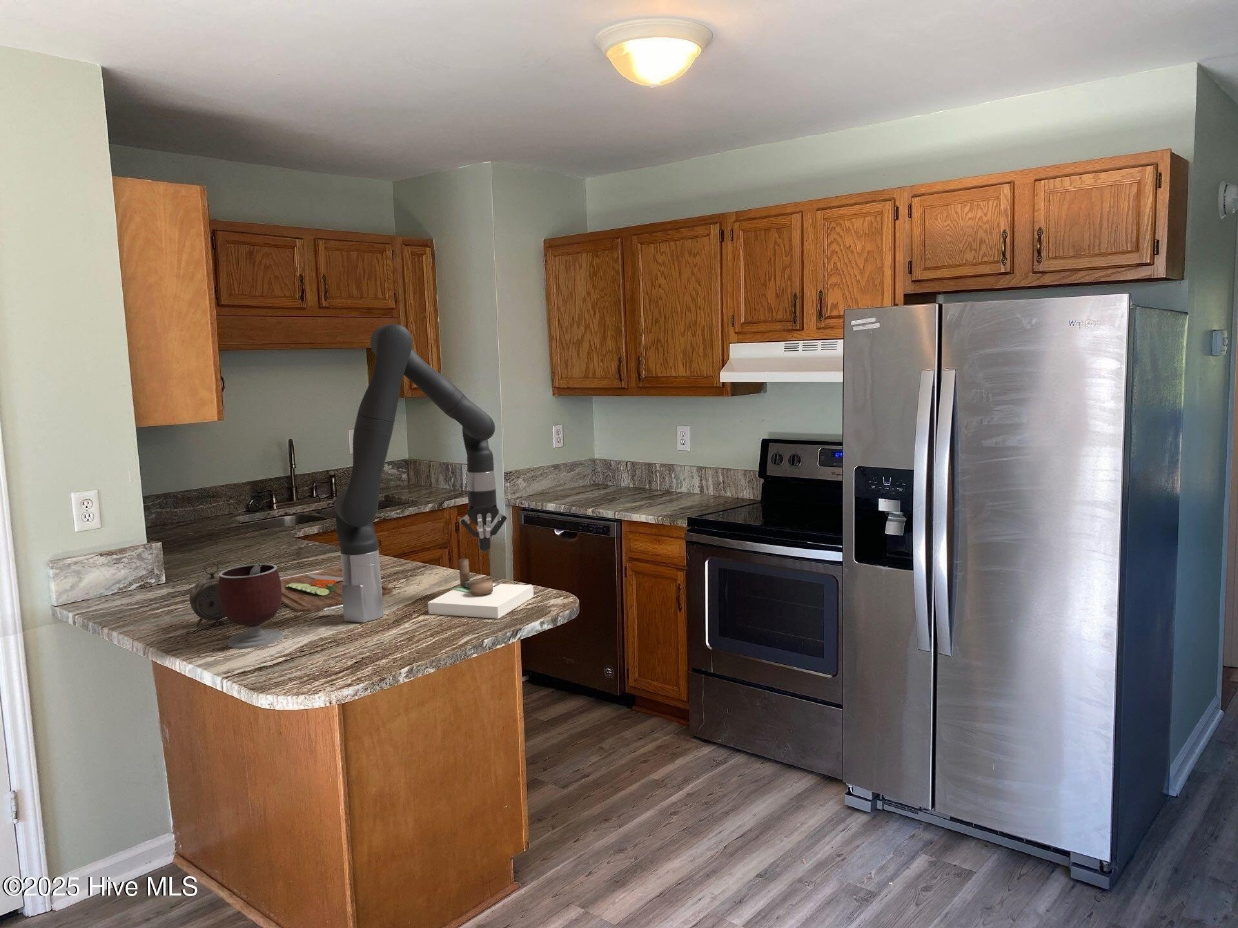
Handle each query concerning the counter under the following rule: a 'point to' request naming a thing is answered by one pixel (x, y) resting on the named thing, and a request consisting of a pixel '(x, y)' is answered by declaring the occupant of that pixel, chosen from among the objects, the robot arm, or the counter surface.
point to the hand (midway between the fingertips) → (484, 551)
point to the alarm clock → (207, 599)
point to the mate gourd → (251, 602)
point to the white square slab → (481, 601)
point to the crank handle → (475, 586)
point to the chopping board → (316, 590)
